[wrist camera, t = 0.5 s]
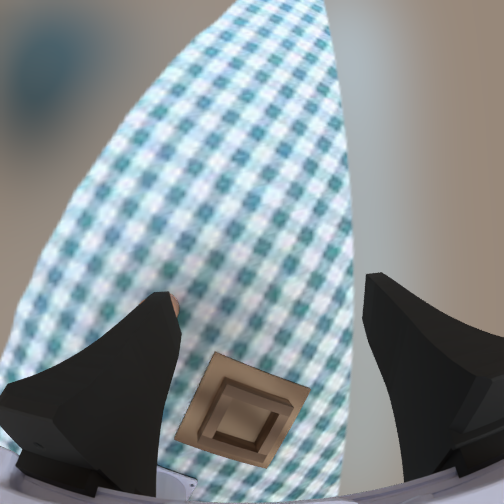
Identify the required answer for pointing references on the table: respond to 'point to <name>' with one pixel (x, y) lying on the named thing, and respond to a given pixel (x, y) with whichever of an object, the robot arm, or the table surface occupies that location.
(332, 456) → the table surface
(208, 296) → the table surface
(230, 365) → the holder
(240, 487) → the table surface
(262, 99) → the table surface
